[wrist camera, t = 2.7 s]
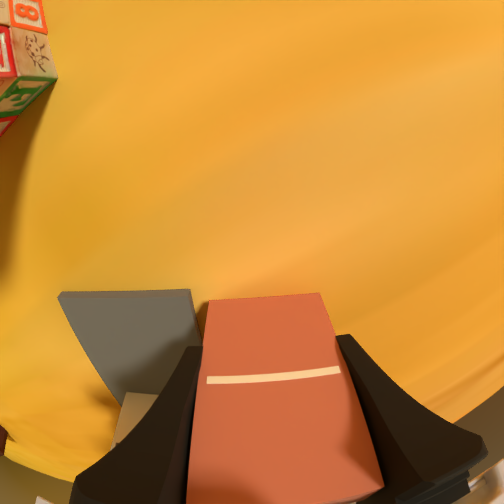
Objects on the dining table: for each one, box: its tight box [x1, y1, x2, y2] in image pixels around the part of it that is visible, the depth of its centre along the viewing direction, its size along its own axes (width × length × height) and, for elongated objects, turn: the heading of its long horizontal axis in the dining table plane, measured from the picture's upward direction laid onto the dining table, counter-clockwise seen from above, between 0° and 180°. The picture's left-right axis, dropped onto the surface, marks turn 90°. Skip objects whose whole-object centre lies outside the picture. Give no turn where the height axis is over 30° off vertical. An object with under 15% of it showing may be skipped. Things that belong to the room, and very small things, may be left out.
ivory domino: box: [110, 392, 159, 451], centre depth 13 cm, size 2×5×9 cm, turn 93°
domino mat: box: [57, 289, 203, 407], centre depth 19 cm, size 28×8×1 cm, turn 3°
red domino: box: [186, 293, 385, 504], centre depth 9 cm, size 2×5×9 cm, turn 93°
